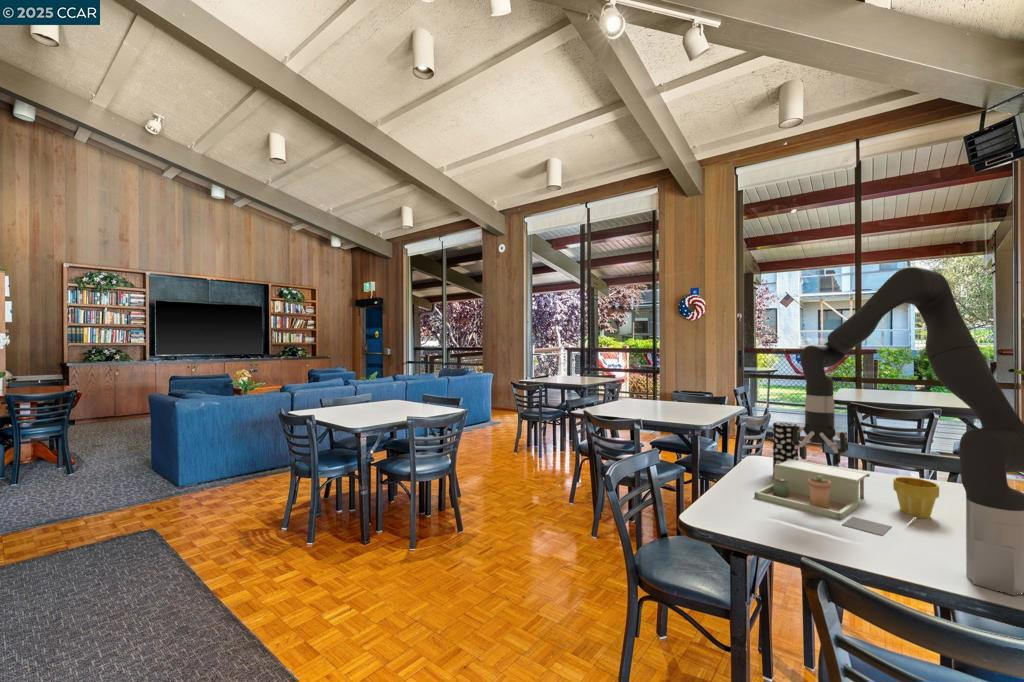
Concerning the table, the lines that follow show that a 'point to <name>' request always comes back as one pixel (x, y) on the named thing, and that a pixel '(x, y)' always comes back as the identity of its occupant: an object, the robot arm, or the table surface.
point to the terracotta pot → (819, 492)
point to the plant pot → (916, 495)
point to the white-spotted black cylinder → (783, 443)
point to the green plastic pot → (781, 487)
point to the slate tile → (867, 526)
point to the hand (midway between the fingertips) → (819, 462)
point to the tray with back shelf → (797, 474)
